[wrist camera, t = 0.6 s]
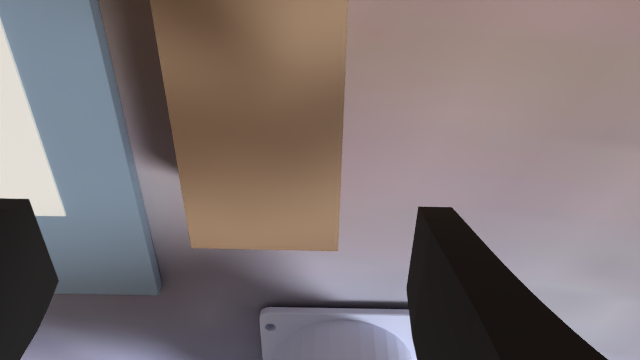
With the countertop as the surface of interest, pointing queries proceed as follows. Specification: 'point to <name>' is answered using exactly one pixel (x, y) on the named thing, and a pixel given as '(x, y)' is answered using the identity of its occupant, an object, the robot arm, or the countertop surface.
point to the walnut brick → (256, 118)
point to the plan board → (72, 147)
